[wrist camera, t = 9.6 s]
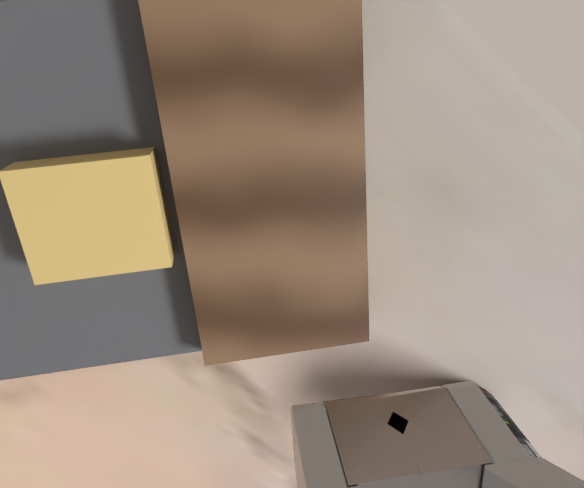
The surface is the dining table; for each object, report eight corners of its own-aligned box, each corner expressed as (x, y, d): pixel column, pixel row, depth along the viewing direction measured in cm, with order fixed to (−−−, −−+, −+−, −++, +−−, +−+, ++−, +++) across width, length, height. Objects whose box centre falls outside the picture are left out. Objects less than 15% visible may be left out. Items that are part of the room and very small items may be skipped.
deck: (142, -10, 23) (135, -14, 21) (350, -26, 24) (360, -31, 22) (205, 346, 31) (204, 365, 29) (360, 323, 32) (369, 340, 30)
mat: (-161, 13, 22) (-167, 13, 21) (137, -9, 23) (136, -10, 23) (-14, 378, 30) (-17, 382, 29) (202, 346, 31) (202, 350, 31)
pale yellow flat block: (14, 162, 25) (-3, 171, 23) (154, 146, 25) (149, 155, 24) (47, 268, 27) (34, 285, 25) (175, 252, 28) (172, 267, 26)
